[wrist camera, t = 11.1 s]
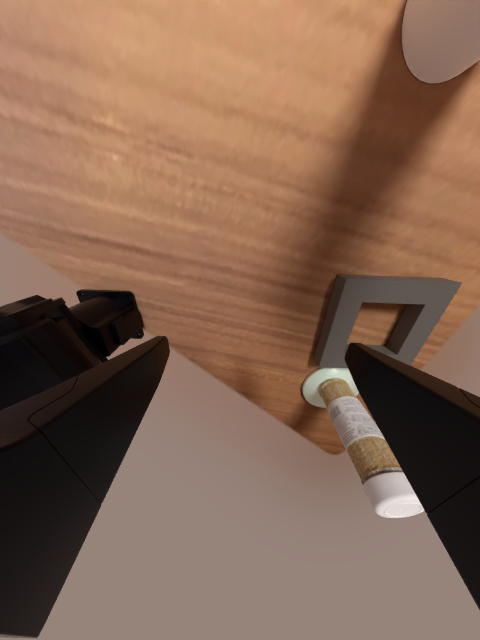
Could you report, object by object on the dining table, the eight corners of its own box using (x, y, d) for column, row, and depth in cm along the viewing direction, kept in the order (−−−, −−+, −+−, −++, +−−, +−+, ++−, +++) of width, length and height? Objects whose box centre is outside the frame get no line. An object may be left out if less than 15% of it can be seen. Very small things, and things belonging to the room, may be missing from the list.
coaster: (297, 403, 30) (298, 406, 29) (308, 362, 26) (310, 365, 25) (349, 405, 30) (351, 408, 29) (369, 365, 26) (371, 367, 25)
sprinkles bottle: (333, 400, 29) (399, 523, 17) (311, 391, 28) (364, 514, 16) (354, 382, 27) (445, 506, 15) (330, 372, 26) (408, 495, 14)
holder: (313, 357, 25) (318, 367, 24) (337, 274, 20) (346, 278, 18) (395, 360, 25) (407, 370, 24) (442, 278, 20) (462, 282, 18)
